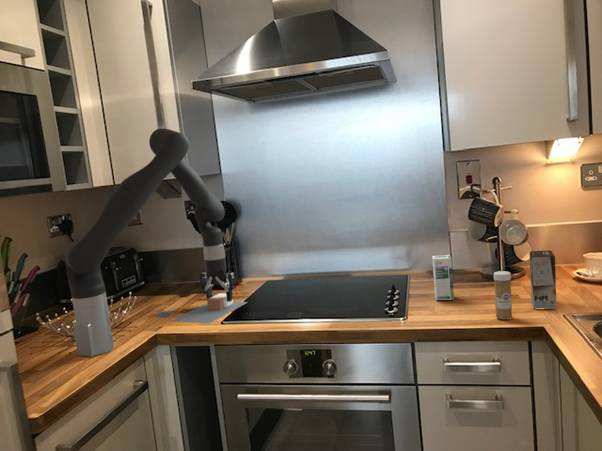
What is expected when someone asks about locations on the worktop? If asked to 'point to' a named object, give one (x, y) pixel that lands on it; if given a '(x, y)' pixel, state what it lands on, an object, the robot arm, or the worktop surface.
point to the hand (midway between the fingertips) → (219, 300)
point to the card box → (218, 302)
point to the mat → (207, 313)
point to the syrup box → (443, 277)
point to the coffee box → (543, 279)
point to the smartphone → (165, 314)
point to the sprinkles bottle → (503, 294)
